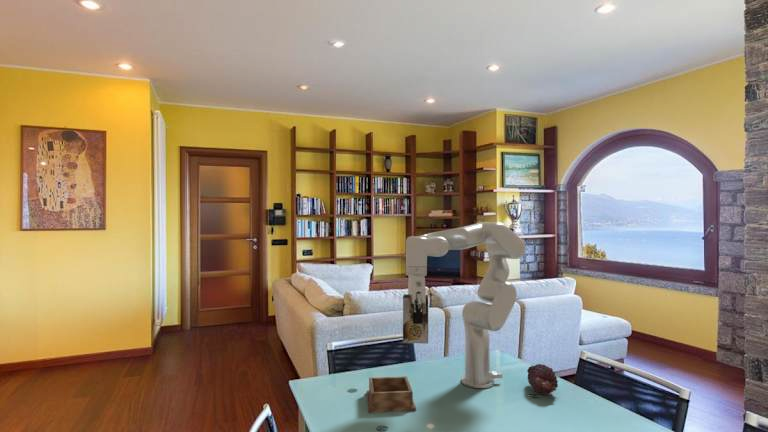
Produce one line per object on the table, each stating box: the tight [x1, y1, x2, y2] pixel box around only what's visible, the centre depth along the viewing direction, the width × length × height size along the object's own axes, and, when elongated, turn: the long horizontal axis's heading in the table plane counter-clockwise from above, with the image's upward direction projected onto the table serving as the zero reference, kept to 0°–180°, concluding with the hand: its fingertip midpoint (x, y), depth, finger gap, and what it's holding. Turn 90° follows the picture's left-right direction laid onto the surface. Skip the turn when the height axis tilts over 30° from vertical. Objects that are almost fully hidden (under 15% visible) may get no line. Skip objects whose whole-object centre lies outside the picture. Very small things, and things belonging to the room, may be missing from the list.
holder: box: [365, 376, 417, 414], centre depth 149 cm, size 16×16×6 cm
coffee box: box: [402, 294, 429, 345], centre depth 150 cm, size 9×6×16 cm
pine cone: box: [527, 363, 559, 396], centre depth 157 cm, size 18×10×10 cm, turn 4°
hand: (415, 320), depth 150 cm, fingers closed on coffee box, 7 cm apart
